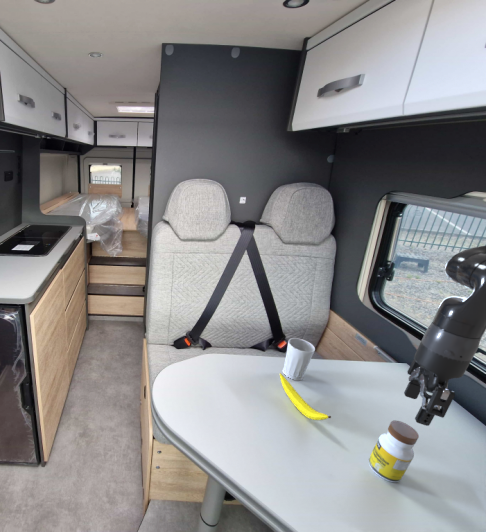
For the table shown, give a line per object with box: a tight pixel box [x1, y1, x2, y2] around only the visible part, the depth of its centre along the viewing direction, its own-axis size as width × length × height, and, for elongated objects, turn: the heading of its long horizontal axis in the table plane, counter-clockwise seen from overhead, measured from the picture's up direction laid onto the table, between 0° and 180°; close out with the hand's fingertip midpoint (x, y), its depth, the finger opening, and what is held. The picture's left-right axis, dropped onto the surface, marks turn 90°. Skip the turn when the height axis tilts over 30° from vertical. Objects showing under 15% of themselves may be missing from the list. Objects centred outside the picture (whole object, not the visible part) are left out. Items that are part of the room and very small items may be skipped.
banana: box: [279, 372, 332, 421], centre depth 91 cm, size 3×19×6 cm, turn 15°
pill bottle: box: [368, 430, 415, 483], centre depth 73 cm, size 6×6×12 cm
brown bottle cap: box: [387, 420, 420, 446], centre depth 70 cm, size 5×5×2 cm
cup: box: [282, 337, 316, 381], centre depth 104 cm, size 8×8×12 cm
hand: (415, 409), depth 68 cm, fingers open, 8 cm apart
